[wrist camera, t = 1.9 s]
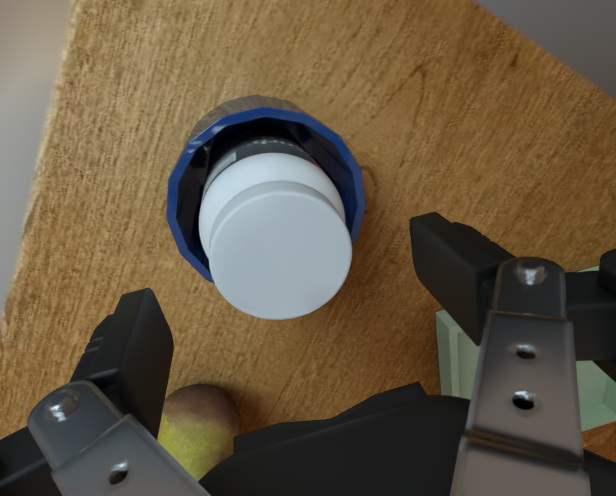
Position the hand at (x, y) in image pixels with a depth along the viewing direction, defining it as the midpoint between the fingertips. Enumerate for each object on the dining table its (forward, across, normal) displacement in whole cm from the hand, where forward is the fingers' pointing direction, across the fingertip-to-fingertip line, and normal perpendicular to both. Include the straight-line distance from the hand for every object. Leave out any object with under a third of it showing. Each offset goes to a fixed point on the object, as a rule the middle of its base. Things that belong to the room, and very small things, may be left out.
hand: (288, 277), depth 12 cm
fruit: (+11, +8, +14) cm, 20 cm away
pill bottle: (+11, 0, 0) cm, 11 cm away
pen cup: (+11, 0, 0) cm, 11 cm away
